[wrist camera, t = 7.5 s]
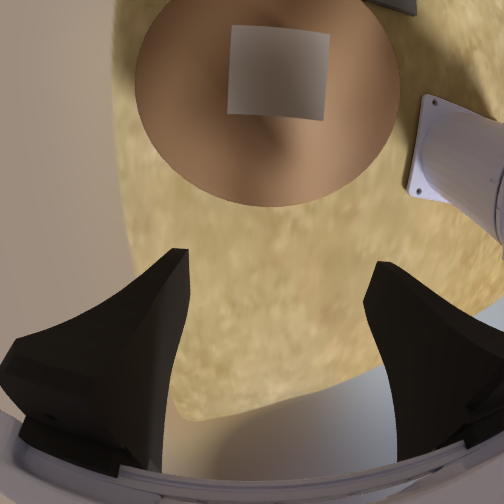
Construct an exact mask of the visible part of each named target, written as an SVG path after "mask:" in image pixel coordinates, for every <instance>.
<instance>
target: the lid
mask: <svg viewBox="0 0 504 504" xmlns="http://www.w3.org/2000/svg"><path fill="white" fill-rule="evenodd" d="M135 96H136V102H137V107H138V112H139V115H140V118H141V121H142V124H143V127H144V129H145V131H146V133H147V135H148V137H149V139H150V141H151V143H152V144H153V146H154V147H155V148H156V150H157V151H158V153H159V154H160V156H161V157H162V158H163V159H164V160H165V161H166V162H167V163H168V164H169V166H170V167H171V168H172V169H173V170H175V171H176V172H177V173H178V174H179V175H181V176H182V177H183V178H184V179H185V180H187V181H188V182H190V183H191V184H193V185H195V186H196V187H198V188H199V189H201V190H203V191H205V192H207V193H209V194H211V195H213V196H216V197H219V198H222V199H225V200H227V201H231V202H235V203H239V204H244V205H250V206H259V207H282V206H290V205H297V204H301V203H306V202H310V201H313V200H316V199H319V198H321V197H324V196H327V195H329V194H331V193H333V192H335V191H337V190H339V189H341V188H342V187H344V186H345V185H347V184H348V183H350V182H351V181H353V180H354V179H355V178H357V177H358V176H359V175H360V174H361V173H362V172H363V171H364V170H366V169H367V168H368V166H369V165H370V164H371V163H372V162H373V161H374V160H375V158H376V157H377V156H378V155H379V153H380V152H381V150H382V149H383V147H384V146H385V144H386V142H387V140H388V138H389V136H390V134H391V132H392V129H393V126H394V123H395V120H396V117H397V113H398V108H399V102H400V75H399V68H398V63H397V59H396V55H395V52H394V49H393V47H392V44H391V42H390V40H389V37H388V36H387V34H386V32H385V30H384V29H383V27H382V25H381V23H380V22H379V21H378V19H377V18H376V17H375V16H374V14H373V13H372V12H371V10H370V9H369V8H368V7H367V6H366V5H365V4H364V3H363V2H362V1H361V0H171V1H170V2H169V3H168V4H167V5H166V6H165V7H164V8H163V10H162V11H161V12H160V13H159V15H158V16H157V17H156V19H155V20H154V22H153V23H152V25H151V27H150V28H149V30H148V32H147V34H146V36H145V38H144V41H143V43H142V46H141V48H140V52H139V56H138V60H137V64H136V73H135Z"/></svg>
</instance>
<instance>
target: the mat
mask: <svg viewBox="0 0 504 504" xmlns="http://www.w3.org/2000/svg"><path fill="white" fill-rule="evenodd" d="M365 1H368V2H372V3H375V4H378V5H381V6H385V7H388V8H391V9H394V10H396V11H399V12H402V13H405V14H407V15H410V16H412V17H413V16H416V15H417V5H416V0H365Z"/></svg>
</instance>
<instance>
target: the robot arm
mask: <svg viewBox="0 0 504 504" xmlns="http://www.w3.org/2000/svg"><path fill="white" fill-rule="evenodd" d="M433 100H434V101H435V104H434V105H433V104H432V101H433ZM418 188H419V192H418V193H416V191H417V189H418ZM406 191H407V193H408V194H409V195H410V196H412V197H418V198H424V199H429V200H435V201H441V202H446V203H451V204H452V205H453V206H455V207H456V208H457V209H459V210H460V211H461V212H463V213H464V214H465V215H466V216H468V217H469V218H470V219H472V220H473V221H474V222H475V223H476V224H478V225H479V226H480V227H481V228H483V229H484V230H485V231H486V232H487V233H488V234H490V235H491V236H492V237H493V238H494V239H495V240H496V241H498V242H499V243H500V244H501V245H502V247H503V256H502V260H504V123H501V122H498V121H494V120H491V119H487V118H485V117H483V116H481V115H479V114H477V113H475V112H472V111H470V110H468V109H466V108H463V107H461V106H459V105H456V104H454V103H451V102H449V101H446V100H444V99H441V98H439V97H436V96H433V95H430V94H424V95H423V96H422V102H421V110H420V118H419V125H418V131H417V138H416V144H415V149H414V155H413V160H412V165H411V170H410V175H409V180H408V184H407V190H406ZM189 300H190V275H189V249H178V248H172V249H171V250H169V251H168V252H167V253H166V254H165V255H164V256H162V257H161V258H160V259H159V260H158V261H157V262H156V263H154V264H153V265H152V266H151V267H150V268H149V269H147V270H146V271H145V272H144V273H143V274H142V275H140V276H139V277H138V278H136V279H135V280H134V281H132V282H131V283H130V284H129V285H127V286H126V287H125V288H123V289H122V290H121V291H119V292H118V293H116V294H115V295H113V296H112V297H110V298H109V299H107V300H106V301H104V302H102V303H101V304H99V305H97V306H95V307H94V308H92V309H90V310H88V311H86V312H84V313H82V314H80V315H78V316H77V317H74V318H72V319H70V320H68V321H66V322H64V323H61V324H59V325H56V326H54V327H51V328H49V329H46V330H43V331H40V332H37V333H34V334H30V335H27V336H24V337H21V338H17V339H16V340H15V341H14V343H13V344H12V346H11V348H10V349H9V351H8V353H7V354H6V356H5V358H4V360H3V361H2V363H1V365H0V386H1V387H2V389H3V390H4V391H5V393H6V394H7V395H8V396H9V397H10V399H11V400H12V401H13V402H14V403H15V404H16V406H17V407H18V408H19V409H20V410H21V411H22V412H23V413H24V414H25V415H26V417H25V420H24V422H23V423H21V422H20V421H18V420H17V419H16V418H14V417H12V416H11V415H9V414H7V413H5V412H3V411H1V410H0V493H2V494H3V495H4V496H6V497H7V498H9V499H10V500H12V501H13V502H15V503H16V504H191V503H197V504H306V503H315V502H322V501H329V500H335V499H341V498H346V497H351V496H357V495H361V494H366V493H370V492H374V491H378V490H382V489H386V488H389V487H393V486H396V485H399V484H402V483H406V482H409V481H412V480H415V479H417V478H420V477H423V476H426V475H429V474H431V473H432V474H431V475H429V476H426V477H424V478H422V479H419V480H418V481H416V482H415V483H413V484H412V485H410V486H409V487H407V488H405V489H403V490H401V491H399V492H397V493H395V494H392V495H390V496H388V497H387V498H386V499H384V500H380V501H376V502H373V503H368V504H504V332H503V331H500V330H498V329H496V328H493V327H491V326H489V325H487V324H485V323H483V322H481V321H479V320H477V319H475V318H473V317H472V316H470V315H468V314H466V313H465V312H463V311H461V310H460V309H458V308H456V307H455V306H453V305H452V304H450V303H449V302H447V301H446V300H445V299H443V298H442V297H440V296H439V295H437V294H436V293H435V292H433V291H432V290H430V289H429V288H428V287H426V286H425V285H424V284H422V283H421V282H420V281H418V280H417V279H415V278H414V277H413V276H411V275H410V274H409V273H407V272H406V271H404V270H403V269H401V268H400V267H398V266H397V265H395V264H393V263H391V262H383V261H377V263H376V266H375V269H374V272H373V275H372V278H371V281H370V284H369V286H368V289H367V292H366V295H365V297H364V300H363V305H364V309H365V313H366V317H367V321H368V324H369V327H370V329H371V332H372V335H373V337H374V340H375V342H376V345H377V347H378V350H379V353H380V355H381V358H382V360H383V363H384V366H385V369H386V372H387V375H388V379H389V384H390V388H391V393H392V398H393V405H394V411H395V418H396V430H397V463H393V464H389V465H385V466H382V467H377V468H372V469H368V470H363V471H358V472H352V473H347V474H341V475H334V476H327V477H319V478H309V479H298V480H282V481H227V480H212V479H201V478H191V477H183V476H176V475H169V474H163V473H162V449H163V434H164V422H165V413H166V404H167V397H168V390H169V383H170V376H171V371H172V367H173V363H174V359H175V356H176V352H177V349H178V345H179V342H180V338H181V335H182V332H183V328H184V325H185V321H186V318H187V312H188V307H189ZM186 502H188V503H186Z"/></svg>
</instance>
